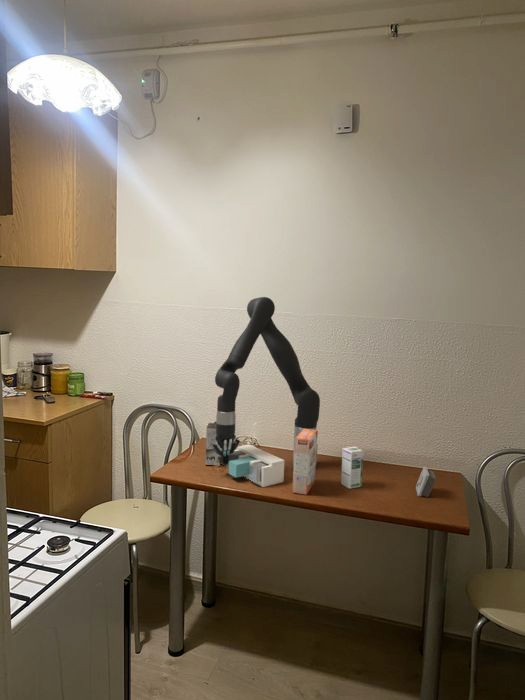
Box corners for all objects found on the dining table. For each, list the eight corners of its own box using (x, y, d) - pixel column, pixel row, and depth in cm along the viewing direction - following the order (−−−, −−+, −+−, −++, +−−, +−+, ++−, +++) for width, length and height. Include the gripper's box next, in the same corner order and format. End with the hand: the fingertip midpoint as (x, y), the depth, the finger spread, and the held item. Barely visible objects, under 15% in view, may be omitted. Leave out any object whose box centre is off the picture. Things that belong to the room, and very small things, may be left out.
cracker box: (307, 495, 186) (310, 439, 184) (291, 493, 188) (294, 437, 185) (315, 482, 199) (318, 429, 197) (300, 480, 201) (303, 427, 199)
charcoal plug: (245, 461, 214) (246, 450, 213) (253, 465, 210) (253, 453, 209) (225, 466, 208) (226, 454, 207) (232, 469, 204) (233, 457, 203)
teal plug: (249, 468, 206) (250, 456, 205) (257, 472, 202) (257, 460, 201) (228, 473, 200) (229, 461, 199) (235, 477, 196) (236, 464, 195)
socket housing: (248, 464, 217) (249, 444, 215) (283, 481, 198) (284, 460, 197) (228, 468, 210) (229, 448, 209) (262, 487, 192) (263, 464, 191)
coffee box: (220, 466, 212) (221, 428, 210) (204, 466, 212) (205, 428, 210) (222, 459, 221) (223, 422, 219) (207, 458, 221) (208, 422, 220)
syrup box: (349, 489, 194) (352, 451, 192) (340, 483, 199) (342, 447, 197) (361, 487, 196) (364, 450, 195) (352, 481, 202) (354, 445, 200)
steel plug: (269, 472, 202) (269, 460, 202) (277, 476, 198) (277, 464, 198) (248, 477, 196) (248, 464, 195) (256, 481, 192) (256, 468, 192)
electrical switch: (415, 487, 198) (419, 464, 196) (429, 490, 197) (433, 467, 196) (417, 497, 189) (422, 473, 187) (432, 500, 188) (436, 476, 186)
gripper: (234, 417, 209) (233, 459, 211) (206, 421, 201) (205, 464, 203) (245, 421, 203) (243, 464, 205) (216, 426, 195) (215, 470, 197)
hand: (224, 464), depth 204 cm, fingers closed
